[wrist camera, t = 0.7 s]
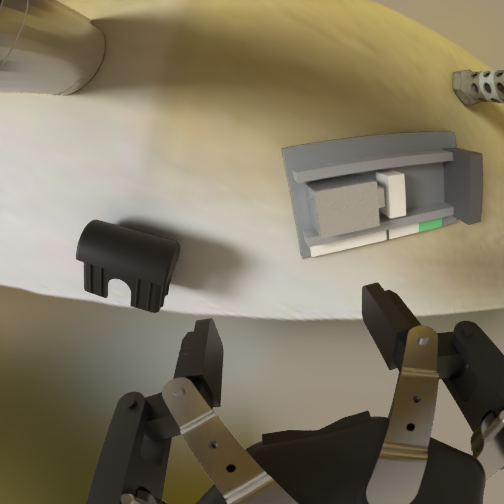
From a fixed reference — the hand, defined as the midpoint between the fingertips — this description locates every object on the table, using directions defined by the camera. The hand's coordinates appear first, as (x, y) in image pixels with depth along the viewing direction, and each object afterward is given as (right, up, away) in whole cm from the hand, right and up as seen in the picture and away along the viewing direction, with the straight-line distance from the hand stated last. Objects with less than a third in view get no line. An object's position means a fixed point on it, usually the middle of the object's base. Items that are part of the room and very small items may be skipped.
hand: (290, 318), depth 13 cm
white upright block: (+13, +10, +14) cm, 21 cm away
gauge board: (+13, +10, +15) cm, 23 cm away
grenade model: (+26, +24, +10) cm, 37 cm away
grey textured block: (+8, +9, +15) cm, 19 cm away
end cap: (-15, +4, +18) cm, 24 cm away
